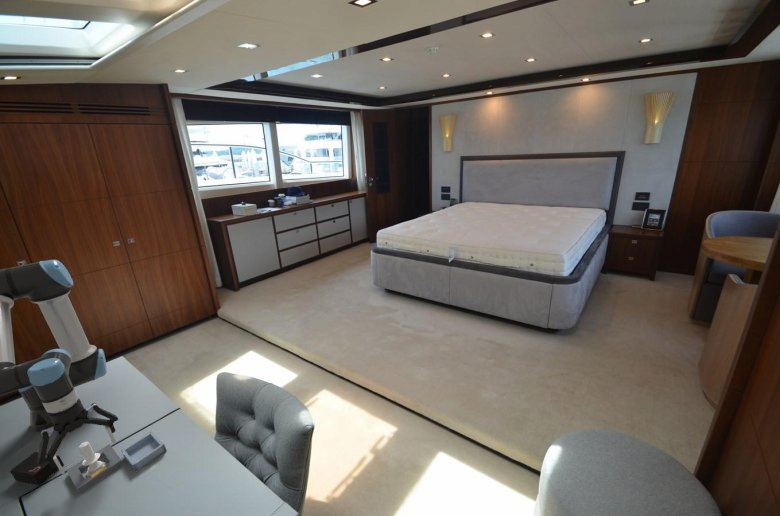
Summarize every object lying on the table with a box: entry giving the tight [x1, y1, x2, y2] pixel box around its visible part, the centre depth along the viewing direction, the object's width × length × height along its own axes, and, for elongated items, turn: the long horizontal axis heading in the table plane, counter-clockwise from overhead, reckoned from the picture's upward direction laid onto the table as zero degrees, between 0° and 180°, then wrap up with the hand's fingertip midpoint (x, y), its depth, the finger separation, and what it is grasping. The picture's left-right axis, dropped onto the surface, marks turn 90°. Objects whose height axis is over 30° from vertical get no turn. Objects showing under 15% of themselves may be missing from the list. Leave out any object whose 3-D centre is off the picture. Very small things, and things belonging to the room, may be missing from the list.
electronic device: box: [9, 451, 65, 486], centre depth 114 cm, size 7×11×5 cm
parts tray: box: [121, 431, 167, 473], centre depth 119 cm, size 11×10×3 cm
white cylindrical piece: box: [78, 441, 107, 477], centre depth 113 cm, size 5×5×12 cm
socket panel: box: [66, 444, 124, 494], centre depth 114 cm, size 12×12×2 cm
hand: (89, 455), depth 112 cm, fingers open, 13 cm apart
